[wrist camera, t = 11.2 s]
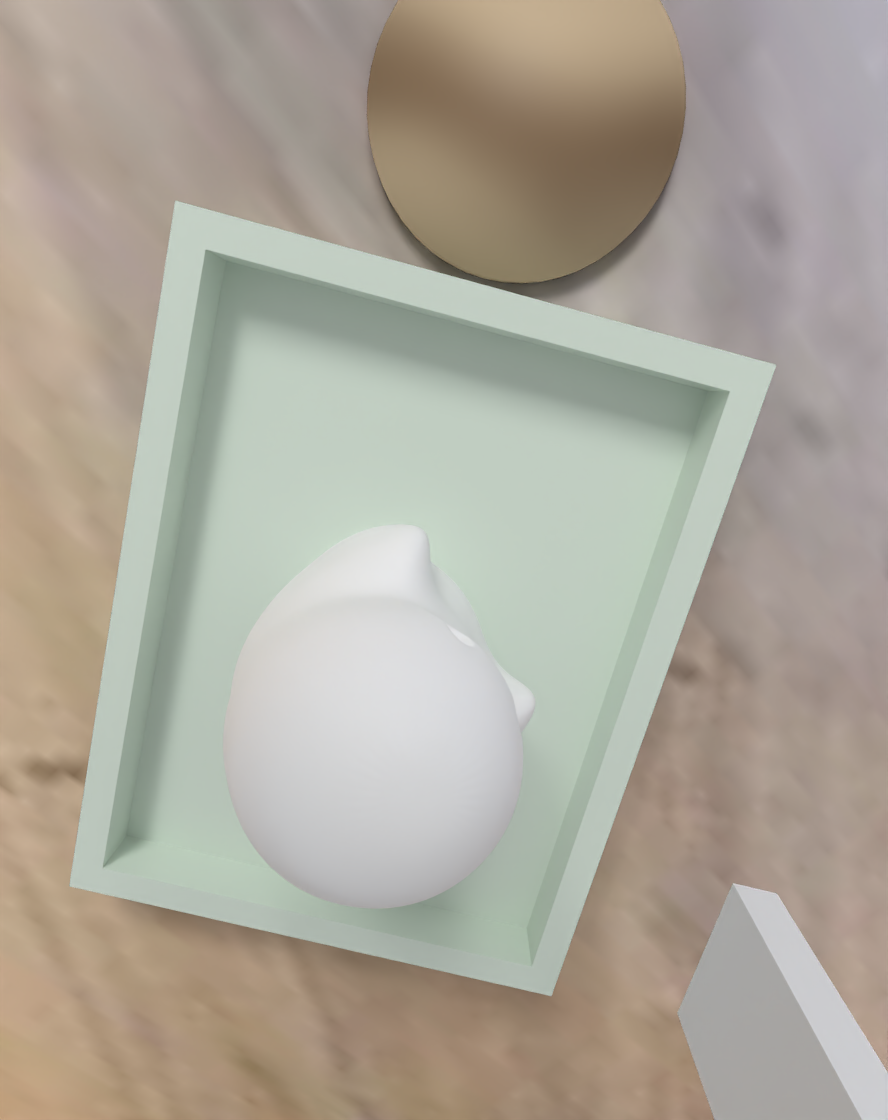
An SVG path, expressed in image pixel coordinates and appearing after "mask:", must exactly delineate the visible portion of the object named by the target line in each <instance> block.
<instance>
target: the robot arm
mask: <svg viewBox="0 0 888 1120" xmlns="http://www.w3.org/2000/svg"><path fill="white" fill-rule="evenodd" d="M678 1016H679V1019H680V1022H681V1025H682V1028H683V1031H684V1033H685V1036H686V1039H687V1042H688V1045H689V1048H690V1051H691V1053H692V1056H693V1059H694V1062H695V1065H696V1068H697V1071H698V1074H699V1076H700V1079H701V1082H702V1085H703V1088H704V1091H705V1094H706V1097H707V1099H708V1102H709V1105H710V1108H711V1111H712V1114H713V1117H714V1120H888V1072H887V1071H886V1069H885V1067H884V1066H883V1064H882V1063H881V1061H880V1059H879V1058H878V1056H877V1055H876V1053H875V1051H874V1050H873V1048H872V1046H871V1045H870V1043H869V1042H868V1040H867V1038H866V1037H865V1035H864V1034H863V1032H862V1030H861V1029H860V1027H859V1025H858V1024H857V1022H856V1021H855V1019H854V1017H853V1016H852V1014H851V1012H850V1011H849V1009H848V1008H847V1006H846V1004H845V1003H844V1001H843V1000H842V998H841V996H840V995H839V993H838V991H837V990H836V988H835V987H834V985H833V983H832V982H831V980H830V979H829V977H828V975H827V974H826V972H825V970H824V969H823V967H822V966H821V964H820V962H819V961H818V959H817V958H816V956H815V954H814V953H813V951H812V949H811V948H810V946H809V945H808V943H807V941H806V940H805V938H804V937H803V935H802V933H801V932H800V930H799V928H798V927H797V925H796V924H795V922H794V920H793V919H792V917H791V916H790V914H789V912H788V911H787V909H786V907H785V906H784V904H783V903H782V901H781V899H780V898H779V896H778V895H777V893H773V892H769V891H764V890H760V889H756V888H752V887H747V886H743V885H739V884H735V883H733V884H732V886H731V889H730V891H729V893H728V896H727V898H726V900H725V903H724V905H723V907H722V910H721V912H720V915H719V917H718V919H717V922H716V924H715V926H714V929H713V931H712V933H711V936H710V938H709V940H708V943H707V945H706V947H705V950H704V952H703V954H702V957H701V959H700V961H699V964H698V966H697V968H696V971H695V973H694V975H693V978H692V980H691V982H690V985H689V987H688V989H687V992H686V994H685V996H684V999H683V1001H682V1003H681V1006H680V1008H679V1010H678Z"/></svg>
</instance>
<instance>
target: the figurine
mask: <svg viewBox="0 0 888 1120" xmlns="http://www.w3.org/2000/svg"><path fill="white" fill-rule="evenodd" d="M535 703H536V702H535V697H534V695H533V693H532V692H531V690H529V689H528V688H527V687H526V686H525V685H524V684H522V683H521V682H519V681H518V680H516V679H515V678H514V677H512V676H511V675H510V674H508V673H507V672H506V671H505V670H504V669H503V668H502V667H501V666H500V665H499V663H498V662H497V661H496V660H495V658H494V657H493V655H492V653H491V651H490V649H489V647H488V645H487V643H486V641H485V638H484V636H483V633H482V630H481V627H480V624H479V621H478V619H477V616H476V614H475V612H474V610H473V608H472V606H471V604H470V602H469V600H468V599H467V597H466V596H465V594H464V593H463V592H462V590H461V589H460V588H459V586H458V585H457V584H456V583H455V582H454V581H453V580H452V579H451V578H450V577H449V576H448V575H447V574H446V573H445V572H444V571H442V570H441V569H440V568H439V567H437V566H436V565H435V564H433V563H432V562H431V560H430V544H429V539H428V536H427V534H426V532H425V531H424V530H423V529H421V528H420V527H417V526H413V525H405V524H397V525H385V526H379V527H373V528H370V529H366V530H363V531H361V532H358V533H356V534H353V535H351V536H349V537H347V538H345V539H344V540H342V541H340V542H339V543H337V544H335V545H334V546H332V547H331V548H330V549H328V550H327V551H326V552H324V553H323V554H322V555H320V556H319V557H318V558H317V559H316V560H314V561H313V562H312V563H311V564H309V565H308V566H307V567H306V568H305V569H303V570H302V571H301V572H300V573H299V574H298V575H296V576H295V577H294V578H293V579H292V580H291V581H290V582H289V583H288V584H287V585H286V586H285V587H284V588H283V589H282V590H281V591H280V592H279V593H278V594H277V595H276V596H275V598H274V599H273V600H272V601H271V602H270V604H269V605H268V606H267V607H266V609H265V610H264V611H263V613H262V614H261V616H260V617H259V619H258V620H257V622H256V623H255V625H254V626H253V628H252V630H251V632H250V633H249V635H248V637H247V639H246V641H245V643H244V645H243V648H242V650H241V652H240V655H239V658H238V661H237V664H236V667H235V671H234V675H233V680H232V686H231V695H230V699H229V702H228V706H227V711H226V716H225V723H224V732H223V756H224V766H225V772H226V778H227V784H228V788H229V793H230V796H231V800H232V803H233V806H234V809H235V812H236V814H237V817H238V819H239V822H240V824H241V826H242V828H243V830H244V832H245V834H246V835H247V837H248V839H249V840H250V842H251V844H252V845H253V846H254V848H255V849H256V851H257V852H258V853H259V855H260V856H261V857H262V858H263V859H264V860H265V862H266V863H267V864H268V865H269V866H270V867H271V868H272V869H274V870H275V871H276V872H277V873H278V874H279V875H280V876H282V877H283V878H284V879H285V880H287V881H288V882H290V883H291V884H293V885H294V886H296V887H297V888H299V889H301V890H303V891H305V892H307V893H309V894H311V895H313V896H315V897H318V898H320V899H323V900H326V901H329V902H333V903H336V904H340V905H345V906H351V907H358V908H370V909H383V908H394V907H400V906H406V905H410V904H414V903H418V902H421V901H424V900H427V899H429V898H432V897H434V896H436V895H438V894H440V893H442V892H444V891H446V890H448V889H450V888H451V887H453V886H454V885H456V884H457V883H459V882H460V881H462V880H463V879H464V878H466V877H467V876H468V875H469V874H471V873H472V872H473V871H474V870H475V869H476V868H477V867H478V866H479V865H480V864H481V863H482V862H483V861H484V860H485V859H486V858H487V857H488V855H489V854H490V853H491V852H492V850H493V849H494V848H495V846H496V845H497V844H498V842H499V841H500V839H501V837H502V836H503V834H504V832H505V830H506V828H507V827H508V824H509V822H510V820H511V818H512V815H513V813H514V810H515V807H516V804H517V800H518V797H519V792H520V788H521V782H522V773H523V740H522V735H521V733H522V731H523V730H524V728H525V727H526V725H527V724H528V722H529V721H530V719H531V717H532V715H533V713H534V710H535Z"/></svg>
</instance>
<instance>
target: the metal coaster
mask: <svg viewBox="0 0 888 1120" xmlns="http://www.w3.org/2000/svg"><path fill="white" fill-rule="evenodd" d="M685 110H686V84H685V76H684V67H683V61H682V56H681V52H680V48H679V44H678V40H677V37H676V34H675V32H674V29H673V26H672V24H671V21H670V18H669V16H668V15H667V13H666V11H665V9H664V7H663V5H662V3H661V1H660V0H399V1H398V2H397V4H396V5H395V7H394V9H393V11H392V13H391V14H390V16H389V18H388V20H387V22H386V24H385V26H384V29H383V31H382V34H381V36H380V39H379V41H378V44H377V47H376V51H375V54H374V58H373V62H372V66H371V71H370V78H369V84H368V92H367V121H368V132H369V140H370V145H371V149H372V154H373V159H374V162H375V165H376V168H377V171H378V174H379V177H380V180H381V183H382V186H383V188H384V190H385V192H386V194H387V196H388V198H389V200H390V202H391V204H392V206H393V208H394V209H395V211H396V212H397V214H398V215H399V217H400V218H401V220H402V222H403V223H404V224H405V225H406V227H407V228H408V229H409V230H410V231H411V232H412V234H413V235H414V236H415V237H416V238H417V239H418V240H419V241H420V242H421V243H422V244H423V245H424V246H425V247H426V248H428V249H429V250H430V251H431V252H432V253H434V254H435V255H436V256H438V257H439V258H441V259H442V260H444V261H445V262H446V263H448V264H450V265H452V266H454V267H456V268H458V269H460V270H462V271H464V272H466V273H469V274H472V275H475V276H477V277H480V278H483V279H488V280H493V281H498V282H505V283H533V282H542V281H547V280H551V279H556V278H560V277H563V276H566V275H568V274H571V273H574V272H577V271H579V270H581V269H583V268H585V267H587V266H589V265H590V264H592V263H594V262H596V261H598V260H599V259H600V258H602V257H603V256H605V255H606V254H608V253H609V252H610V251H612V250H613V249H614V248H615V247H617V246H618V245H619V244H620V243H621V242H622V241H623V240H624V239H625V238H626V237H628V236H629V235H630V234H631V233H632V232H633V231H634V230H635V229H636V227H637V226H638V225H639V224H640V223H641V221H642V220H643V219H644V218H645V217H646V216H647V214H648V213H649V211H650V210H651V208H652V207H653V205H654V204H655V202H656V201H657V199H658V198H659V196H660V194H661V192H662V190H663V188H664V186H665V184H666V182H667V180H668V178H669V176H670V174H671V171H672V168H673V165H674V163H675V160H676V157H677V154H678V150H679V146H680V142H681V138H682V134H683V126H684V118H685Z"/></svg>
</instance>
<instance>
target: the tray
mask: <svg viewBox="0 0 888 1120" xmlns="http://www.w3.org/2000/svg"><path fill="white" fill-rule="evenodd" d="M775 368H776V365H775V364H772V363H768V362H764V361H761V360H757V359H753V358H750V357H746V356H742V355H739V354H735V353H731V352H728V351H724V350H720V349H717V348H713V347H709V346H706V345H702V344H699V343H695V342H691V341H688V340H684V339H680V338H677V337H673V336H669V335H666V334H662V333H658V332H655V331H651V330H647V329H644V328H640V327H636V326H633V325H629V324H625V323H622V322H618V321H614V320H611V319H607V318H603V317H600V316H596V315H592V314H589V313H585V312H581V311H578V310H574V309H570V308H567V307H563V306H559V305H556V304H552V303H549V302H545V301H541V300H538V299H534V298H530V297H527V296H523V295H519V294H516V293H512V292H508V291H505V290H501V289H497V288H494V287H490V286H486V285H483V284H479V283H475V282H472V281H468V280H464V279H461V278H457V277H453V276H450V275H446V274H442V273H439V272H435V271H431V270H428V269H424V268H420V267H417V266H413V265H409V264H406V263H402V262H399V261H395V260H391V259H388V258H384V257H380V256H377V255H373V254H369V253H366V252H362V251H358V250H355V249H351V248H347V247H344V246H340V245H336V244H333V243H329V242H325V241H322V240H318V239H314V238H311V237H307V236H303V235H300V234H296V233H292V232H289V231H285V230H281V229H278V228H274V227H270V226H267V225H263V224H259V223H256V222H252V221H248V220H245V219H241V218H238V217H234V216H230V215H227V214H223V213H219V212H216V211H212V210H208V209H205V208H201V207H197V206H194V205H190V204H186V203H183V202H179V201H175V205H174V212H173V218H172V225H171V231H170V238H169V244H168V251H167V257H166V263H165V270H164V276H163V283H162V289H161V296H160V302H159V309H158V315H157V322H156V328H155V335H154V341H153V348H152V354H151V361H150V367H149V373H148V380H147V386H146V393H145V399H144V406H143V412H142V419H141V425H140V432H139V438H138V445H137V451H136V458H135V464H134V471H133V477H132V483H131V490H130V496H129V503H128V509H127V516H126V522H125V529H124V535H123V542H122V548H121V555H120V561H119V568H118V574H117V580H116V587H115V593H114V600H113V606H112V613H111V619H110V626H109V632H108V639H107V645H106V652H105V658H104V665H103V671H102V678H101V684H100V690H99V697H98V703H97V710H96V716H95V723H94V729H93V736H92V742H91V749H90V755H89V762H88V768H87V775H86V781H85V788H84V794H83V800H82V807H81V813H80V820H79V826H78V833H77V839H76V846H75V852H74V859H73V865H72V872H71V878H70V885H69V886H70V887H75V888H79V889H83V890H88V891H92V892H96V893H101V894H105V895H110V896H114V897H118V898H123V899H127V900H132V901H136V902H140V903H145V904H149V905H153V906H158V907H162V908H167V909H171V910H175V911H180V912H184V913H189V914H193V915H197V916H202V917H206V918H210V919H215V920H219V921H224V922H228V923H232V924H237V925H241V926H246V927H250V928H254V929H259V930H263V931H267V932H272V933H276V934H281V935H285V936H289V937H294V938H298V939H303V940H307V941H311V942H316V943H320V944H324V945H329V946H333V947H338V948H342V949H346V950H351V951H355V952H360V953H364V954H368V955H373V956H377V957H382V958H386V959H390V960H395V961H399V962H403V963H408V964H412V965H417V966H421V967H425V968H430V969H434V970H439V971H443V972H447V973H452V974H456V975H460V976H465V977H469V978H474V979H478V980H482V981H487V982H491V983H496V984H500V985H504V986H509V987H513V988H517V989H522V990H526V991H531V992H535V993H539V994H544V995H548V996H552V993H553V990H554V988H555V985H556V982H557V979H558V976H559V973H560V971H561V968H562V965H563V962H564V959H565V957H566V954H567V951H568V948H569V945H570V943H571V940H572V937H573V934H574V931H575V929H576V926H577V923H578V920H579V917H580V915H581V912H582V909H583V906H584V903H585V901H586V898H587V895H588V892H589V889H590V887H591V884H592V881H593V878H594V875H595V872H596V870H597V867H598V864H599V861H600V858H601V856H602V853H603V850H604V847H605V844H606V842H607V839H608V836H609V833H610V830H611V828H612V825H613V822H614V819H615V816H616V814H617V811H618V808H619V805H620V802H621V800H622V797H623V794H624V791H625V788H626V786H627V783H628V780H629V777H630V774H631V772H632V769H633V766H634V763H635V760H636V757H637V755H638V752H639V749H640V746H641V743H642V741H643V738H644V735H645V732H646V729H647V727H648V724H649V721H650V718H651V715H652V713H653V710H654V707H655V704H656V701H657V699H658V696H659V693H660V690H661V687H662V685H663V682H664V679H665V676H666V673H667V671H668V668H669V665H670V662H671V659H672V656H673V654H674V651H675V648H676V645H677V642H678V640H679V637H680V634H681V631H682V628H683V626H684V623H685V620H686V617H687V614H688V612H689V609H690V606H691V603H692V600H693V598H694V595H695V592H696V589H697V586H698V584H699V581H700V578H701V575H702V572H703V570H704V567H705V564H706V561H707V558H708V556H709V553H710V550H711V547H712V544H713V541H714V539H715V536H716V533H717V530H718V527H719V525H720V522H721V519H722V516H723V513H724V511H725V508H726V505H727V502H728V499H729V497H730V494H731V491H732V488H733V485H734V483H735V480H736V477H737V474H738V471H739V469H740V466H741V463H742V460H743V457H744V455H745V452H746V449H747V446H748V443H749V441H750V438H751V435H752V432H753V429H754V426H755V424H756V421H757V418H758V415H759V412H760V410H761V407H762V404H763V401H764V398H765V396H766V393H767V390H768V387H769V384H770V382H771V379H772V376H773V373H774V370H775ZM397 524H405V525H413V526H417V527H420V528H421V529H423V530H424V531H425V532H426V534H427V536H428V539H429V544H430V560H431V562H432V563H433V564H435V565H436V566H437V567H439V568H440V569H441V570H442V571H444V572H445V573H446V574H447V575H448V576H449V577H450V578H451V579H452V580H453V581H454V582H455V583H456V584H457V585H458V586H459V588H460V589H461V590H462V592H463V593H464V594H465V596H466V597H467V599H468V600H469V602H470V604H471V606H472V608H473V610H474V612H475V614H476V616H477V619H478V621H479V624H480V627H481V630H482V633H483V636H484V638H485V641H486V643H487V645H488V647H489V649H490V651H491V653H492V655H493V657H494V658H495V660H496V661H497V662H498V663H499V665H500V666H501V667H502V668H503V669H504V670H505V671H506V672H507V673H508V674H510V675H511V676H512V677H514V678H515V679H516V680H518V681H519V682H521V683H522V684H524V685H525V686H526V687H527V688H528V689H529V690H531V692H532V693H533V695H534V697H535V702H536V703H535V710H534V713H533V715H532V717H531V719H530V721H529V722H528V724H527V725H526V727H525V728H524V730H523V731H522V733H521V735H522V740H523V773H522V782H521V788H520V792H519V797H518V800H517V804H516V807H515V810H514V813H513V815H512V818H511V820H510V822H509V824H508V827H507V828H506V830H505V832H504V834H503V836H502V837H501V839H500V841H499V842H498V844H497V845H496V846H495V848H494V849H493V850H492V852H491V853H490V854H489V855H488V857H487V858H486V859H485V860H484V861H483V862H482V863H481V864H480V865H479V866H478V867H477V868H476V869H475V870H474V871H473V872H472V873H471V874H469V875H468V876H467V877H466V878H464V879H463V880H462V881H460V882H459V883H457V884H456V885H454V886H453V887H451V888H450V889H448V890H446V891H444V892H442V893H440V894H438V895H436V896H434V897H432V898H429V899H427V900H424V901H421V902H418V903H414V904H410V905H406V906H400V907H394V908H383V909H370V908H358V907H351V906H345V905H340V904H336V903H333V902H329V901H326V900H323V899H320V898H318V897H315V896H313V895H311V894H309V893H307V892H305V891H303V890H301V889H299V888H297V887H296V886H294V885H293V884H291V883H290V882H288V881H287V880H285V879H284V878H283V877H282V876H280V875H279V874H278V873H277V872H276V871H275V870H274V869H272V868H271V867H270V866H269V865H268V864H267V863H266V862H265V860H264V859H263V858H262V857H261V856H260V855H259V853H258V852H257V851H256V849H255V848H254V846H253V845H252V844H251V842H250V840H249V839H248V837H247V835H246V834H245V832H244V830H243V828H242V826H241V824H240V822H239V819H238V817H237V814H236V812H235V809H234V806H233V803H232V800H231V796H230V793H229V788H228V784H227V778H226V772H225V766H224V756H223V732H224V723H225V716H226V711H227V706H228V702H229V699H230V695H231V686H232V680H233V675H234V671H235V667H236V664H237V661H238V658H239V655H240V652H241V650H242V648H243V645H244V643H245V641H246V639H247V637H248V635H249V633H250V632H251V630H252V628H253V626H254V625H255V623H256V622H257V620H258V619H259V617H260V616H261V614H262V613H263V611H264V610H265V609H266V607H267V606H268V605H269V604H270V602H271V601H272V600H273V599H274V598H275V596H276V595H277V594H278V593H279V592H280V591H281V590H282V589H283V588H284V587H285V586H286V585H287V584H288V583H289V582H290V581H291V580H292V579H293V578H294V577H295V576H296V575H298V574H299V573H300V572H301V571H302V570H303V569H305V568H306V567H307V566H308V565H309V564H311V563H312V562H313V561H314V560H316V559H317V558H318V557H319V556H320V555H322V554H323V553H324V552H326V551H327V550H328V549H330V548H331V547H332V546H334V545H335V544H337V543H339V542H340V541H342V540H344V539H345V538H347V537H349V536H351V535H353V534H356V533H358V532H361V531H363V530H366V529H370V528H373V527H379V526H385V525H397Z"/></svg>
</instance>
